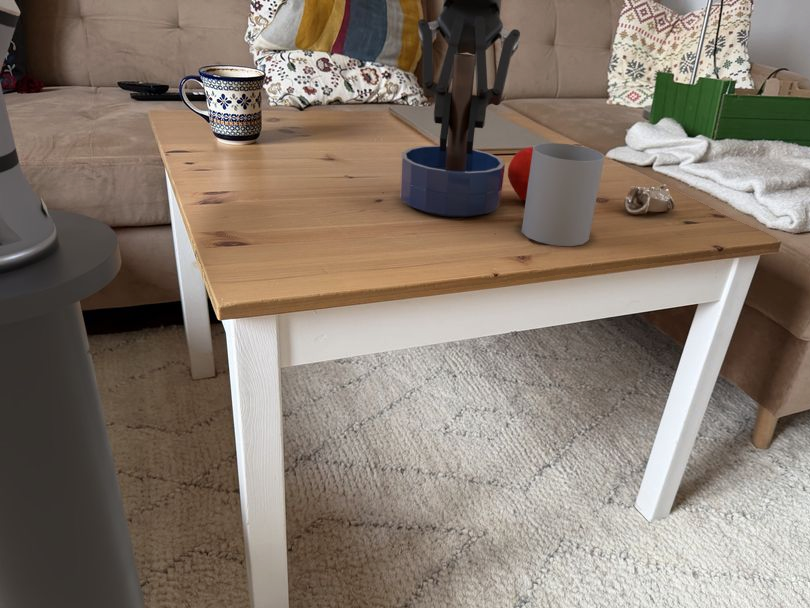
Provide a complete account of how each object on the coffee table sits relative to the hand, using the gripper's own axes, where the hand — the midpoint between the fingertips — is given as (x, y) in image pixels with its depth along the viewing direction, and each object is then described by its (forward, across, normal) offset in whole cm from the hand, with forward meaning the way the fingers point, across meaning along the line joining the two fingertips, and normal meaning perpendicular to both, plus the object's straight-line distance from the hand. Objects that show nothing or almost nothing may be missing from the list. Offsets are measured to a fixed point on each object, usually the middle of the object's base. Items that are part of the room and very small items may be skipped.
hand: (456, 146), depth 82 cm
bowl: (+3, 0, -9) cm, 9 cm away
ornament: (-1, -27, -13) cm, 30 cm away
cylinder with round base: (+2, 0, -7) cm, 7 cm away
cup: (+9, -13, -3) cm, 16 cm away
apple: (0, -11, -12) cm, 17 cm away
